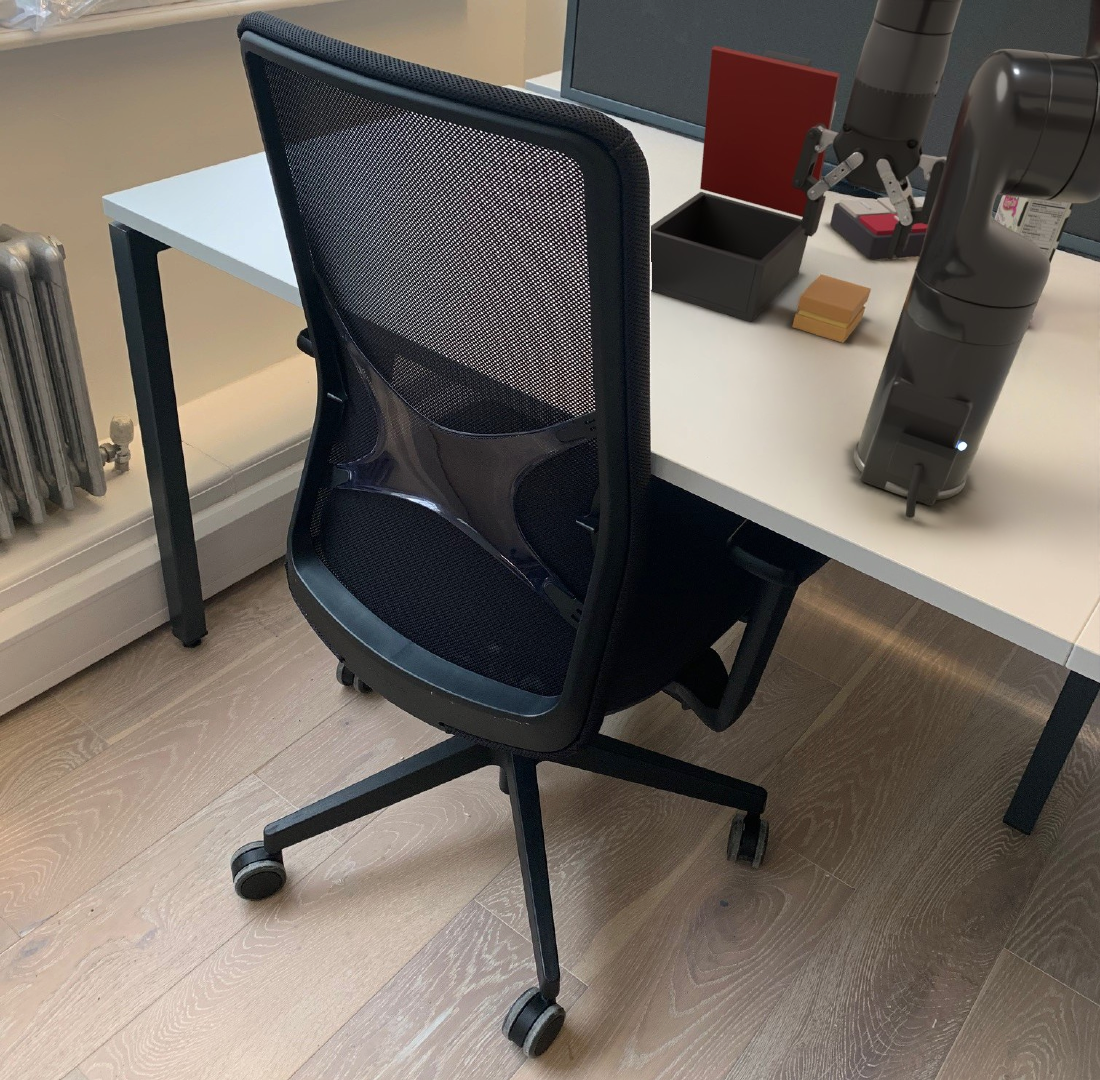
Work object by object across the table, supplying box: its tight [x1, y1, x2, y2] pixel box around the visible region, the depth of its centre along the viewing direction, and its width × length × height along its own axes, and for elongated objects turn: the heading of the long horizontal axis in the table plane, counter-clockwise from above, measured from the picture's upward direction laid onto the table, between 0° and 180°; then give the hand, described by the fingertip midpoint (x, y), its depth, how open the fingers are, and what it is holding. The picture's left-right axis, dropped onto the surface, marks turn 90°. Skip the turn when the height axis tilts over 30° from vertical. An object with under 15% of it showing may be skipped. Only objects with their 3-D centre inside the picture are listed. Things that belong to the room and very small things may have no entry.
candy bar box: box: [994, 195, 1075, 264], centre depth 115 cm, size 11×5×16 cm, turn 168°
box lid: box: [699, 45, 841, 218], centre depth 114 cm, size 16×14×5 cm
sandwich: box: [792, 273, 872, 344], centre depth 110 cm, size 7×6×4 cm
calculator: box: [829, 196, 928, 261], centre depth 131 cm, size 11×4×15 cm
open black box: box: [650, 191, 809, 323], centre depth 116 cm, size 16×14×6 cm
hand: (850, 245), depth 106 cm, fingers open, 8 cm apart
